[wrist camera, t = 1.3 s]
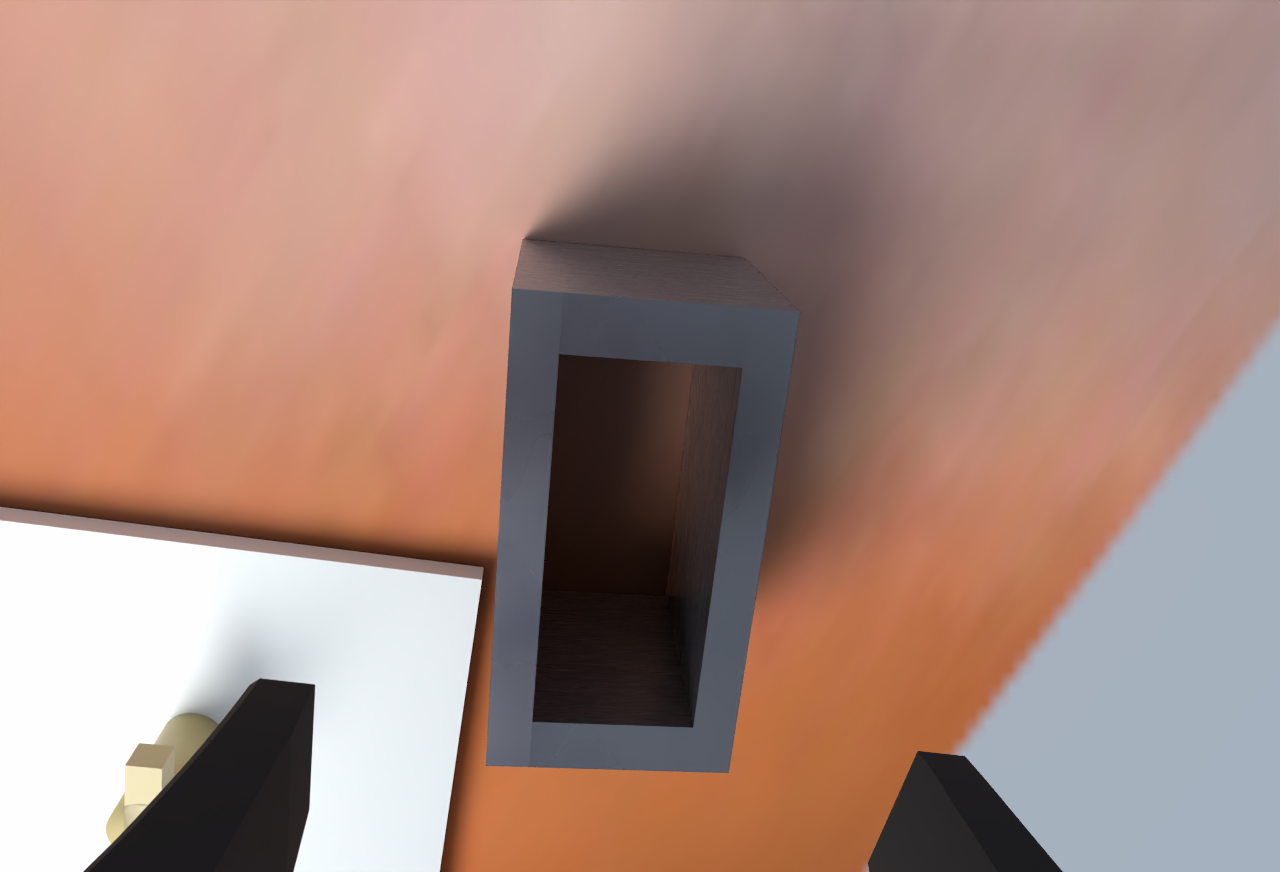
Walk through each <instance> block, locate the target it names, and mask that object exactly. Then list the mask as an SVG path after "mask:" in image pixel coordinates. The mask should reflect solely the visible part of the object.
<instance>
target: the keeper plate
mask: <svg viewBox="0 0 1280 872" xmlns="http://www.w3.org/2000/svg"><path fill="white" fill-rule="evenodd" d="M483 570H484V567H478V566H470V565H462V564H454V563H446V562H438V561H430V560H422V559H414V558H406V557H398V556H390V555H382V554H374V553H366V552H358V551H350V550H342V549H334V548H326V547H318V546H310V545H302V544H294V543H286V542H278V541H270V540H262V539H254V538H246V537H238V536H230V535H222V534H214V533H206V532H198V531H190V530H182V529H174V528H166V527H158V526H150V525H142V524H134V523H126V522H118V521H110V520H102V519H94V518H86V517H78V516H70V515H62V514H54V513H46V512H38V511H30V510H22V509H14V508H6V507H0V872H83V871H84V870H85V869H86V868H87V867H88V866H89V865H90V864H91V863H92V862H93V861H94V860H95V859H96V858H97V857H98V856H99V855H101V854H102V853H103V852H104V851H105V850H106V849H107V848H108V847H109V846H110V845H111V844H112V843H113V842H114V841H115V840H116V839H117V838H118V837H119V836H120V835H121V834H122V832H123V831H124V830H125V829H126V828H127V827H128V826H129V825H130V824H131V823H132V822H133V821H134V820H135V819H136V818H137V817H138V815H139V814H140V813H141V812H142V811H143V810H144V809H145V808H146V807H147V806H148V805H149V804H150V802H151V801H152V800H153V799H154V798H155V797H156V796H157V795H158V794H159V793H160V792H161V791H162V789H163V788H164V787H165V786H166V785H167V784H168V783H169V782H170V781H171V780H172V779H173V778H174V776H175V775H176V774H177V773H178V772H179V771H180V770H181V769H182V767H183V766H184V765H185V764H186V763H187V762H188V760H189V759H190V758H191V757H192V756H193V755H194V753H195V752H196V751H197V750H198V749H199V748H200V747H201V745H202V744H203V743H204V742H205V741H206V739H207V738H208V737H209V736H210V735H211V733H212V732H213V731H214V730H215V729H216V727H217V726H218V725H219V724H220V722H221V721H222V720H223V719H224V717H225V716H226V715H227V714H228V712H229V711H230V710H231V709H232V707H233V706H234V705H235V704H236V702H237V701H238V700H239V698H240V697H241V696H242V694H243V693H244V692H245V690H246V689H247V688H248V686H249V685H250V684H252V683H253V682H255V681H257V680H258V679H260V678H262V679H271V680H280V681H289V682H298V683H307V684H315V702H314V723H313V744H312V765H311V786H310V807H309V813H308V817H307V821H306V825H305V829H304V833H303V837H302V841H301V845H300V849H299V852H298V856H297V860H296V864H295V868H294V872H440V866H441V860H442V853H443V846H444V839H445V832H446V825H447V818H448V811H449V804H450V797H451V791H452V784H453V777H454V770H455V763H456V756H457V749H458V742H459V735H460V728H461V722H462V715H463V708H464V701H465V694H466V687H467V680H468V673H469V666H470V659H471V653H472V646H473V639H474V632H475V625H476V618H477V611H478V604H479V597H480V590H481V584H482V577H483Z"/></svg>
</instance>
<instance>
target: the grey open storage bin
mask: <svg viewBox="0 0 1280 872" xmlns="http://www.w3.org/2000/svg"><path fill="white" fill-rule="evenodd" d="M799 315H800V311H799V310H798V309H797V308H796V307H795V306H794V305H793V304H792V303H791V302H790V301H789V300H787V299H786V298H785V297H784V296H783V295H782V294H781V293H780V292H779V291H778V290H777V289H776V288H775V287H774V286H773V285H772V284H771V283H770V282H769V281H768V280H767V279H766V278H765V277H764V276H763V275H762V274H761V273H760V272H759V271H758V270H756V269H755V268H754V267H753V266H752V265H751V264H750V263H749V262H748V261H747V260H746V259H745V258H737V257H725V256H714V255H702V254H690V253H679V252H667V251H656V250H644V249H633V248H621V247H610V246H598V245H586V244H575V243H563V242H552V241H540V240H529V239H523V241H522V246H521V250H520V255H519V259H518V264H517V268H516V273H515V277H514V282H513V287H512V299H511V318H510V336H509V354H508V372H507V390H506V408H505V426H504V444H503V463H502V481H501V499H500V517H499V535H498V553H497V571H496V589H495V608H494V626H493V644H492V662H491V680H490V698H489V716H488V735H487V753H486V766H513V767H547V768H580V769H614V770H647V771H681V772H714V773H729V767H730V760H731V754H732V747H733V741H734V734H735V728H736V721H737V715H738V708H739V702H740V696H741V689H742V683H743V676H744V670H745V663H746V657H747V650H748V644H749V638H750V631H751V625H752V618H753V612H754V605H755V599H756V592H757V586H758V580H759V573H760V567H761V560H762V554H763V547H764V541H765V534H766V528H767V521H768V515H769V509H770V502H771V496H772V489H773V483H774V476H775V470H776V463H777V457H778V451H779V444H780V438H781V431H782V425H783V418H784V412H785V405H786V399H787V392H788V386H789V380H790V373H791V367H792V360H793V354H794V347H795V341H796V334H797V328H798V322H799ZM559 354H564V355H578V356H591V357H605V358H618V359H631V360H645V361H658V362H672V363H685V364H694V367H693V375H692V384H691V392H690V400H689V408H688V417H687V425H686V433H685V442H684V450H683V458H682V466H681V475H680V483H679V491H678V500H677V508H676V516H675V525H674V533H673V541H672V549H671V558H670V566H669V574H668V583H667V591H666V596H661V595H641V594H620V593H600V592H579V591H559V590H542V581H543V567H544V553H545V539H546V526H547V512H548V498H549V485H550V471H551V457H552V443H553V430H554V416H555V402H556V388H557V375H558V361H559Z"/></svg>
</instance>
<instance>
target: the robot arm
mask: <svg viewBox="0 0 1280 872" xmlns="http://www.w3.org/2000/svg"><path fill="white" fill-rule="evenodd" d="M314 702H315V684H307V683H298V682H289V681H280V680H271V679H262V678H260V679H258V680H257V681H255V682H253V683H252V684H250V685H249V686H248V688H247V689H246V690H245V692H244V693H243V694H242V696H241V697H240V698H239V700H238V701H237V702H236V704H235V705H234V706H233V707H232V709H231V710H230V711H229V712H228V714H227V715H226V716H225V717H224V719H223V720H222V721H221V722H220V724H219V725H218V726H217V727H216V729H215V730H214V731H213V732H212V733H211V735H210V736H209V737H208V738H207V739H206V741H205V742H204V743H203V744H202V745H201V747H200V748H199V749H198V750H197V751H196V752H195V753H194V755H193V756H192V757H191V758H190V759H189V760H188V762H187V763H186V764H185V765H184V766H183V767H182V769H181V770H180V771H179V772H178V773H177V774H176V775H175V776H174V778H173V779H172V780H171V781H170V782H169V783H168V784H167V785H166V786H165V787H164V788H163V789H162V791H161V792H160V793H159V794H158V795H157V796H156V797H155V798H154V799H153V800H152V801H151V802H150V804H149V805H148V806H147V807H146V808H145V809H144V810H143V811H142V812H141V813H140V814H139V815H138V817H137V818H136V819H135V820H134V821H133V822H132V823H131V824H130V825H129V826H128V827H127V828H126V829H125V830H124V831H123V832H122V834H121V835H120V836H119V837H118V838H117V839H116V840H115V841H114V842H113V843H112V844H111V845H110V846H109V847H108V848H107V849H106V850H105V851H104V852H103V853H102V854H101V855H99V856H98V857H97V858H96V859H95V860H94V861H93V862H92V863H91V864H90V865H89V866H88V867H87V868H86V869H85V870H84V871H83V872H294V868H295V864H296V860H297V856H298V852H299V849H300V845H301V841H302V837H303V833H304V829H305V825H306V821H307V817H308V813H309V807H310V786H311V765H312V744H313V723H314ZM868 866H869V872H1062V870H1061V869H1060V868H1059V867H1058V866H1057V865H1056V863H1055V862H1054V861H1053V860H1052V859H1051V857H1050V856H1049V855H1048V854H1047V853H1046V852H1045V850H1044V849H1043V848H1042V847H1041V846H1040V844H1039V843H1038V842H1037V841H1036V840H1035V838H1034V837H1033V836H1032V835H1031V834H1030V832H1029V831H1028V830H1027V829H1026V828H1025V826H1024V825H1023V824H1022V823H1021V822H1020V821H1019V819H1018V818H1017V817H1016V816H1015V814H1014V813H1013V812H1012V811H1011V810H1010V808H1008V806H1007V805H1006V804H1005V802H1004V801H1003V800H1002V799H1001V798H1000V797H999V795H998V794H997V793H996V792H995V791H994V789H993V788H992V787H991V786H990V785H989V783H988V782H987V781H986V780H985V779H984V778H983V776H982V775H981V774H980V773H979V772H978V771H977V769H976V768H975V767H974V766H973V765H972V764H971V763H970V761H969V760H968V759H967V758H966V757H965V756H958V755H949V754H940V753H931V752H922V751H918V752H917V754H916V756H915V759H914V761H913V763H912V765H911V768H910V770H909V772H908V774H907V777H906V779H905V781H904V783H903V786H902V788H901V790H900V792H899V795H898V797H897V799H896V801H895V804H894V806H893V808H892V810H891V813H890V815H889V817H888V819H887V821H886V824H885V826H884V828H883V830H882V833H881V835H880V837H879V839H878V842H877V844H876V846H875V848H874V851H873V853H872V855H871V857H870V860H869V862H868Z"/></svg>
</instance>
